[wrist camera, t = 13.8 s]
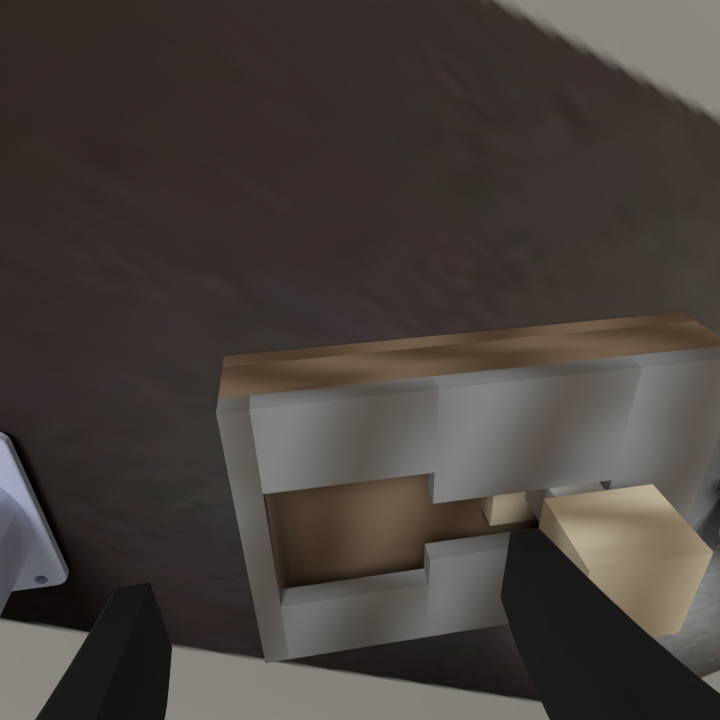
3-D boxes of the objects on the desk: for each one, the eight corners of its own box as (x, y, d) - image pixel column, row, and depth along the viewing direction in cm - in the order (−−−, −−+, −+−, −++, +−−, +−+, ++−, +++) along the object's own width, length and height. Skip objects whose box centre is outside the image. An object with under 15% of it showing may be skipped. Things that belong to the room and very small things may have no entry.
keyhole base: (265, 590, 26) (265, 662, 23) (224, 356, 20) (216, 413, 16) (614, 539, 28) (657, 599, 25) (681, 312, 22) (750, 355, 18)
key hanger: (480, 505, 24) (553, 661, 18) (490, 418, 22) (579, 564, 16) (581, 492, 25) (685, 638, 19) (601, 406, 22) (730, 541, 16)
